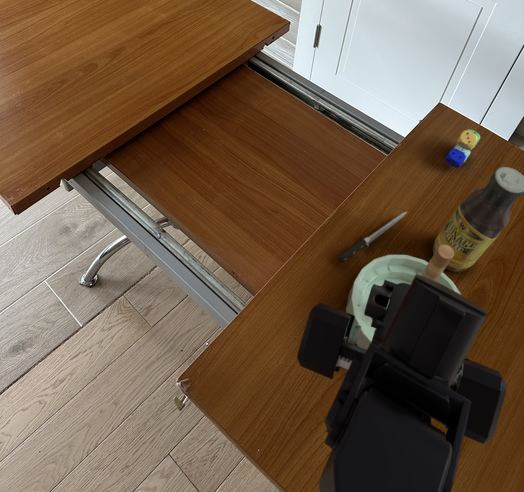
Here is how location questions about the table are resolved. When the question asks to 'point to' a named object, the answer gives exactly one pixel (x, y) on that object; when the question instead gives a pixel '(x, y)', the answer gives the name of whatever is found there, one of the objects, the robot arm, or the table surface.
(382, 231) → the knife
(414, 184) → the table surface
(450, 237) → the sauce bottle
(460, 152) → the dice
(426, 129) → the table surface
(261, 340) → the table surface
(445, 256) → the wooden muddler
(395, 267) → the bowl
